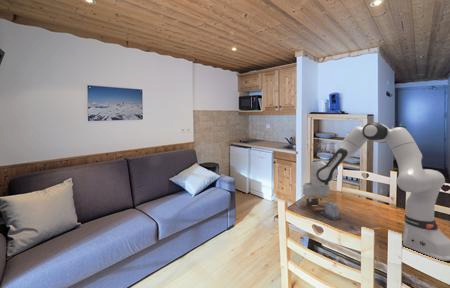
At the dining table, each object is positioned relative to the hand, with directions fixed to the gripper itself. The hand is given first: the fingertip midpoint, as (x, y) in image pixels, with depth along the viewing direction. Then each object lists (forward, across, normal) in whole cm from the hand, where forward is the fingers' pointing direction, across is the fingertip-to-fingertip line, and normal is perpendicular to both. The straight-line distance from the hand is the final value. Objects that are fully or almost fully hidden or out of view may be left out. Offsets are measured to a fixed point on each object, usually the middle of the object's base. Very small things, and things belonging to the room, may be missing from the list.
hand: (316, 201), depth 160 cm
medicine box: (+6, +1, -15) cm, 16 cm away
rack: (+6, 0, 0) cm, 6 cm away
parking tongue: (+6, +1, -15) cm, 16 cm away
